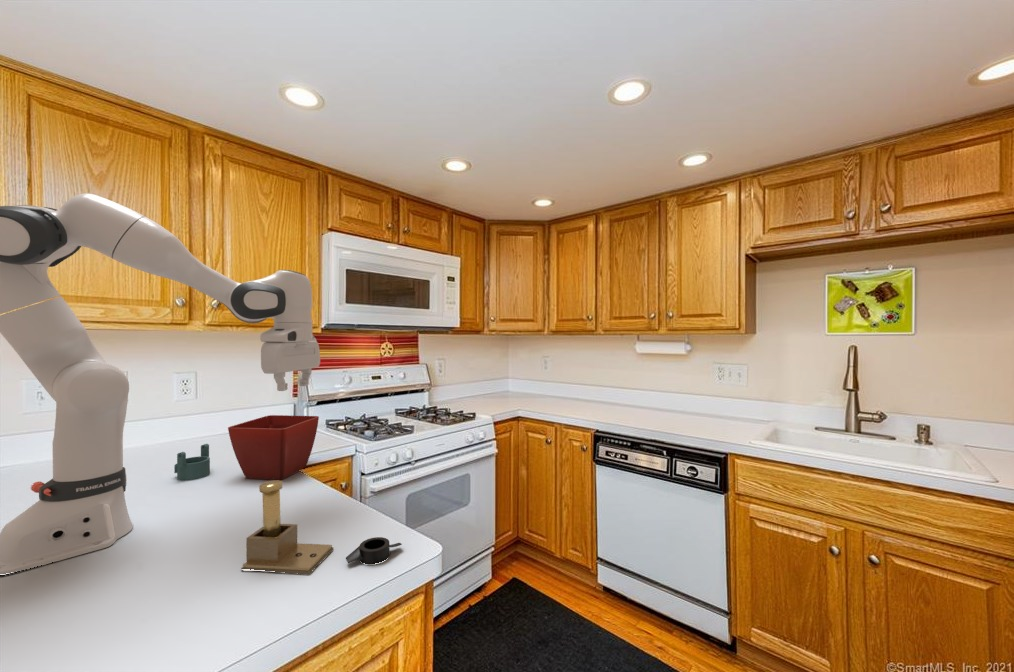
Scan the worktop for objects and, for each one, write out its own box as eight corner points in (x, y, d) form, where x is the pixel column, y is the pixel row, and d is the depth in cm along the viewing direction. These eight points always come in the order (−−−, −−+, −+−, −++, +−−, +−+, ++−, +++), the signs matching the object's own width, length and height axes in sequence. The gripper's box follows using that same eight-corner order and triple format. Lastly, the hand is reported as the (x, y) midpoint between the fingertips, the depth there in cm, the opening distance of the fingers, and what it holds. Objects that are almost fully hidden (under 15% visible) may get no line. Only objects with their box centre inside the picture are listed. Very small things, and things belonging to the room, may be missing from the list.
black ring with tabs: (355, 549, 89) (355, 535, 89) (403, 548, 89) (403, 534, 89) (342, 569, 81) (342, 554, 81) (395, 568, 82) (395, 553, 82)
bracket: (209, 470, 139) (209, 442, 139) (210, 477, 132) (209, 449, 132) (175, 475, 134) (174, 447, 134) (173, 483, 127) (173, 454, 127)
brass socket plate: (309, 574, 79) (309, 544, 79) (241, 571, 80) (241, 541, 80) (333, 550, 88) (333, 523, 88) (271, 547, 89) (271, 520, 89)
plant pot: (226, 482, 128) (225, 426, 128) (269, 462, 147) (269, 414, 147) (283, 485, 125) (283, 428, 125) (320, 465, 144) (320, 416, 144)
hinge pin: (268, 560, 82) (266, 489, 81) (256, 555, 84) (254, 485, 83) (288, 551, 85) (286, 482, 85) (276, 546, 87) (274, 479, 87)
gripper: (304, 334, 119) (304, 383, 119) (255, 334, 98) (255, 393, 99) (326, 334, 118) (326, 383, 118) (280, 334, 98) (281, 394, 98)
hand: (293, 388), depth 108 cm, fingers open, 8 cm apart
